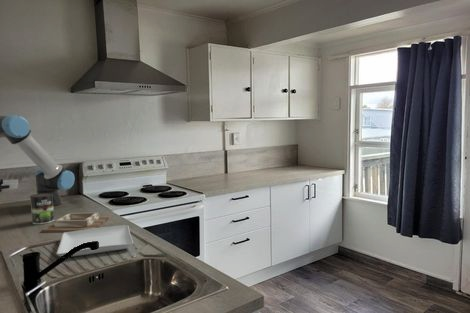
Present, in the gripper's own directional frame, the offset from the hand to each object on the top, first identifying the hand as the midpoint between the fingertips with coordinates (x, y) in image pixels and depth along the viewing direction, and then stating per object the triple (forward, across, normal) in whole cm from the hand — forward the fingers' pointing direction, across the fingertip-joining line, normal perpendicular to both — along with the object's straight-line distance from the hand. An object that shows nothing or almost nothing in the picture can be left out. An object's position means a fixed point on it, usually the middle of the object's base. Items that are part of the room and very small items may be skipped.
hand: (18, 183), depth 179 cm
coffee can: (+10, 0, -21) cm, 23 cm away
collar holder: (+25, +16, -21) cm, 36 cm away
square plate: (+27, +54, -22) cm, 64 cm away
